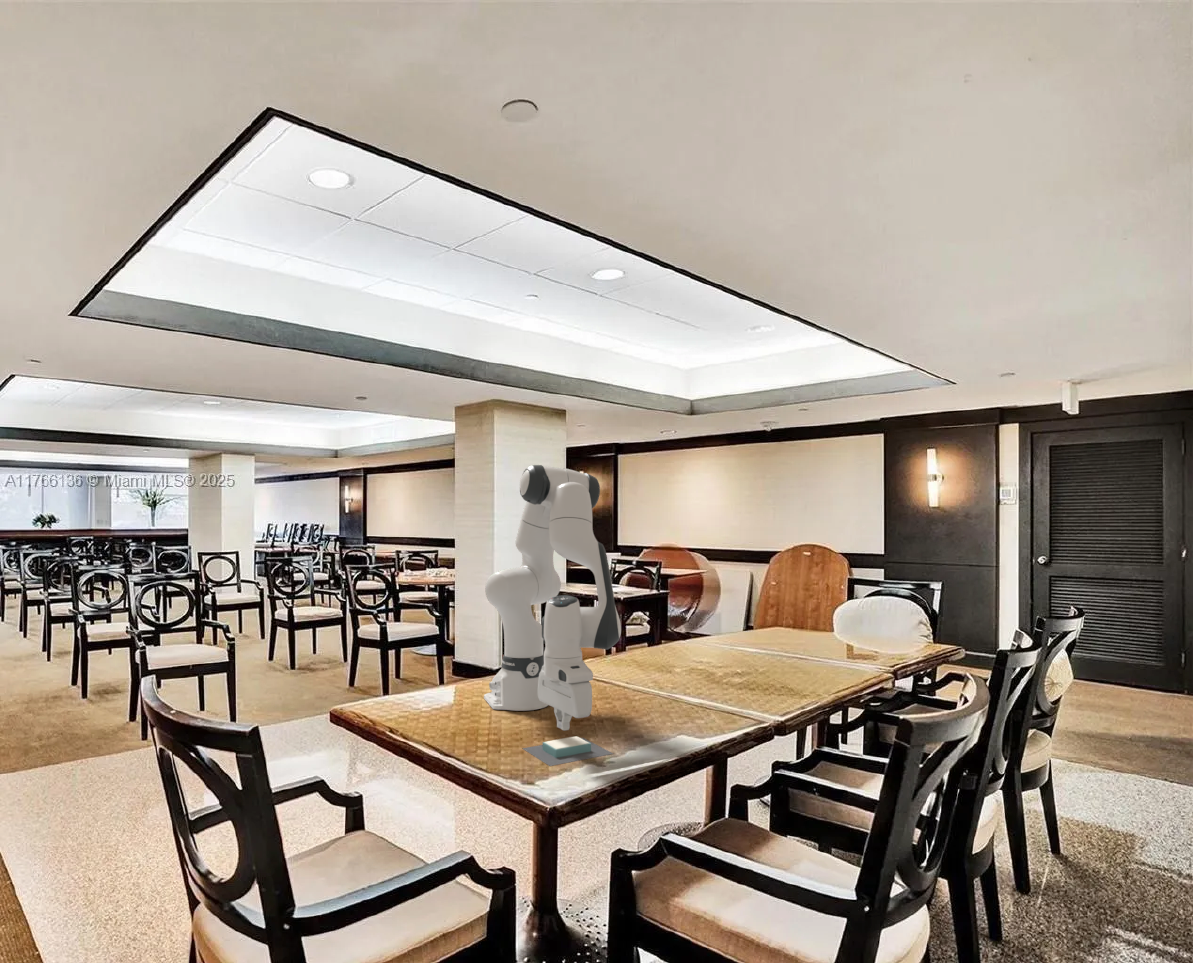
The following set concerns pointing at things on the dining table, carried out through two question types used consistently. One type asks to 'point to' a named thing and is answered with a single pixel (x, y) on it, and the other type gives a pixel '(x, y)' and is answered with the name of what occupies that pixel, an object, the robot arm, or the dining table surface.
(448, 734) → the dining table surface
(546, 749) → the box
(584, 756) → the mat
